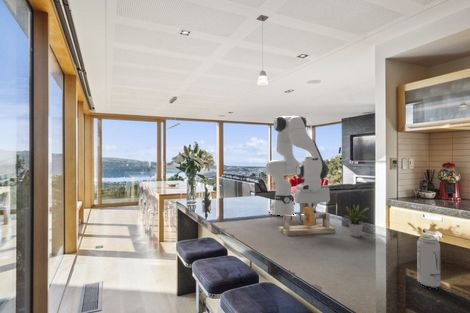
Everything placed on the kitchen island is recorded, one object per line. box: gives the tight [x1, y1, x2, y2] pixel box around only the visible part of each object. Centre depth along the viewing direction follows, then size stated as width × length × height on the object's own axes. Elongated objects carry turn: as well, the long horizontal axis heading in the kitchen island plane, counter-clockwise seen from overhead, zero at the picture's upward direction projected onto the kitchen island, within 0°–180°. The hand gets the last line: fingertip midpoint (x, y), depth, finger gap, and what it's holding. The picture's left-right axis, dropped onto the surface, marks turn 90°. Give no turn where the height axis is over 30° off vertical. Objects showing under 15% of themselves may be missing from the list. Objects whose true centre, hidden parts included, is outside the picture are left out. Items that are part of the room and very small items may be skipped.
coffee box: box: [299, 203, 317, 225], centre depth 175 cm, size 9×6×16 cm
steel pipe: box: [284, 212, 326, 222], centre depth 156 cm, size 3×26×3 cm, turn 104°
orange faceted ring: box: [302, 207, 315, 227], centre depth 157 cm, size 10×2×10 cm, turn 14°
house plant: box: [345, 203, 369, 238], centre depth 147 cm, size 14×14×16 cm
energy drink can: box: [416, 235, 441, 288], centre depth 90 cm, size 6×6×15 cm
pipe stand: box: [278, 212, 336, 237], centre depth 156 cm, size 12×28×10 cm, turn 104°
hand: (312, 210), depth 157 cm, fingers closed
